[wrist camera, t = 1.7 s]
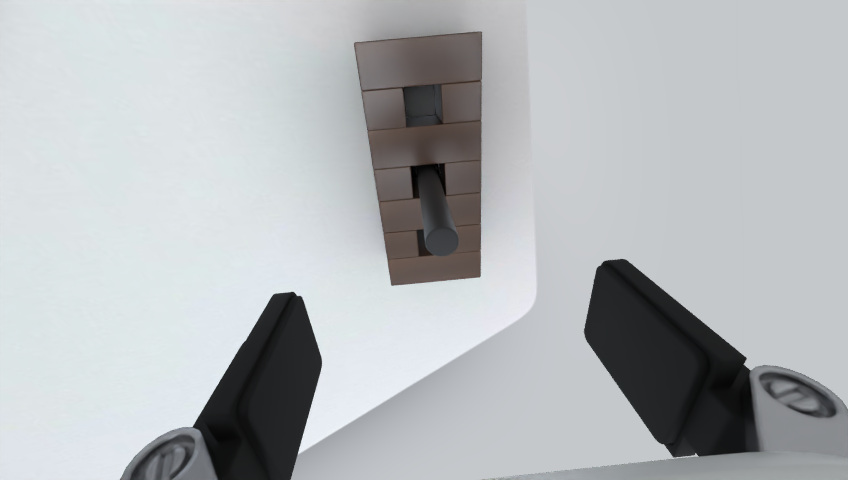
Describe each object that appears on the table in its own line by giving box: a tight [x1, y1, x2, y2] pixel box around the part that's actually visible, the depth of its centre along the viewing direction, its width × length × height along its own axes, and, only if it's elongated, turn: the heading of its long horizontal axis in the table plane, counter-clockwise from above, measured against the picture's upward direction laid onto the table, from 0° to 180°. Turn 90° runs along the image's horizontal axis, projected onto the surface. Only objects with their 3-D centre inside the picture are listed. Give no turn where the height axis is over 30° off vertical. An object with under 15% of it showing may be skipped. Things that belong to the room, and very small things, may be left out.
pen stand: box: [354, 32, 482, 286], centre depth 24 cm, size 17×7×5 cm, turn 4°
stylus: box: [416, 164, 459, 257], centre depth 20 cm, size 2×2×14 cm
